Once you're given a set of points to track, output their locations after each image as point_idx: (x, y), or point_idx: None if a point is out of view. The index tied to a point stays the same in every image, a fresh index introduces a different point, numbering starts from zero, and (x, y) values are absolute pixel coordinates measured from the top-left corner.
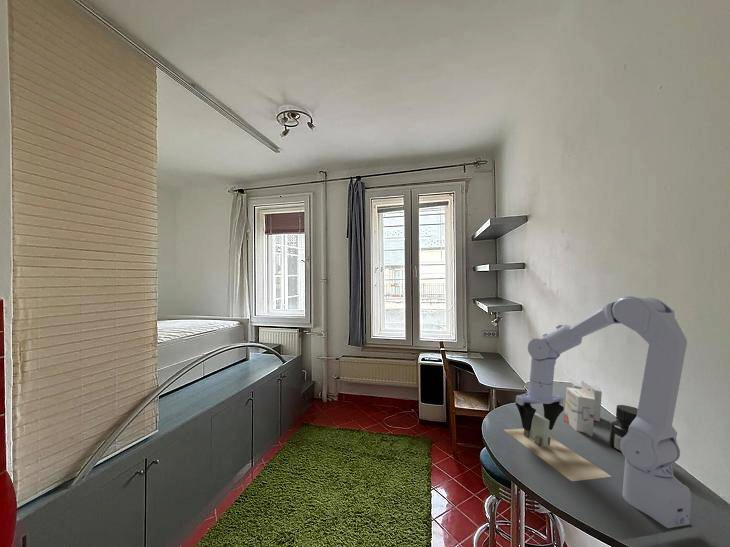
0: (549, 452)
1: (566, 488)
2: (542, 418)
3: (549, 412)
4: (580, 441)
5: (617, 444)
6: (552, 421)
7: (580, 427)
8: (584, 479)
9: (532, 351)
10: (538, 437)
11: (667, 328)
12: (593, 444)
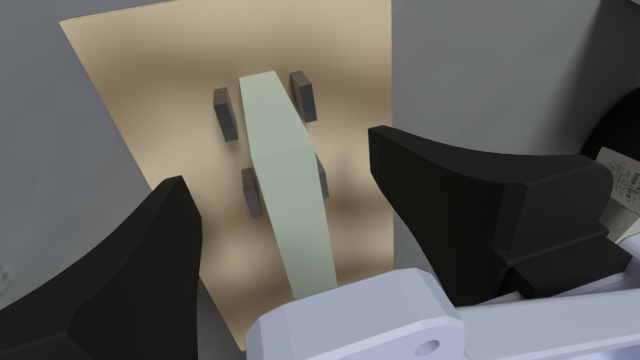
0: (269, 234)
1: (216, 350)
2: (302, 280)
3: (434, 223)
4: (538, 73)
5: (615, 166)
6: (401, 213)
7: None
8: None
9: None
10: (252, 209)
11: None
12: (569, 93)
